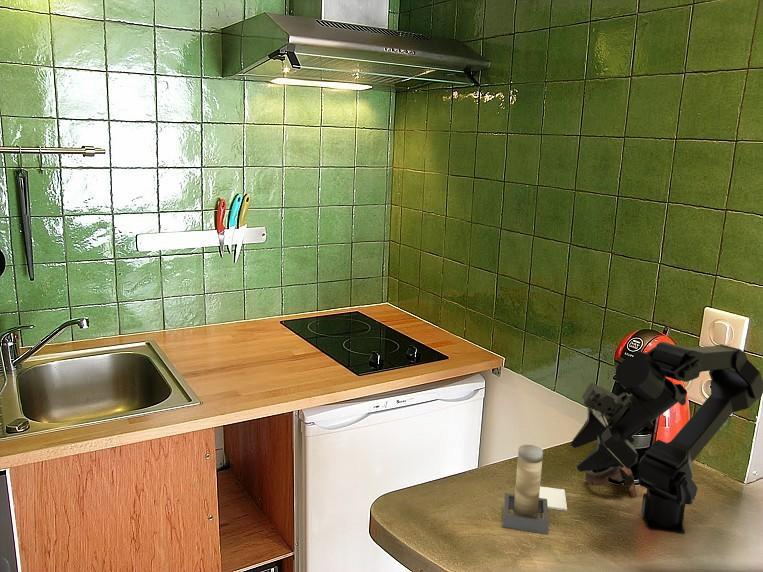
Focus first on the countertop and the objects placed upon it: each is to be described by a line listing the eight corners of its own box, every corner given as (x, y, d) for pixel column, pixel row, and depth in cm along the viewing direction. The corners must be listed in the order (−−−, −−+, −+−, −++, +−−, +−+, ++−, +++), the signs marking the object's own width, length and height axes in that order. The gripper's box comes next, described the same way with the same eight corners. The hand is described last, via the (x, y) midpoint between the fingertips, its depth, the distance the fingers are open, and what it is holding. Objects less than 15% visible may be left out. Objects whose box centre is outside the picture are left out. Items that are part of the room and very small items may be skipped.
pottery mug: (636, 508, 124) (618, 474, 123) (591, 512, 130) (574, 479, 129) (645, 470, 134) (629, 438, 132) (603, 475, 139) (587, 444, 138)
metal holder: (545, 510, 121) (547, 498, 121) (547, 534, 113) (548, 521, 113) (503, 504, 123) (504, 493, 122) (502, 527, 115) (503, 514, 114)
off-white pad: (564, 491, 128) (564, 489, 128) (567, 511, 121) (567, 509, 121) (524, 486, 130) (524, 484, 130) (524, 505, 123) (524, 503, 123)
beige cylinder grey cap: (536, 514, 120) (542, 446, 117) (537, 527, 115) (543, 456, 113) (513, 511, 121) (518, 443, 118) (512, 523, 116) (518, 453, 114)
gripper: (604, 355, 119) (541, 405, 123) (623, 391, 101) (548, 448, 105) (644, 397, 119) (580, 446, 124) (670, 441, 101) (594, 496, 106)
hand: (575, 457), depth 114 cm, fingers open, 9 cm apart
